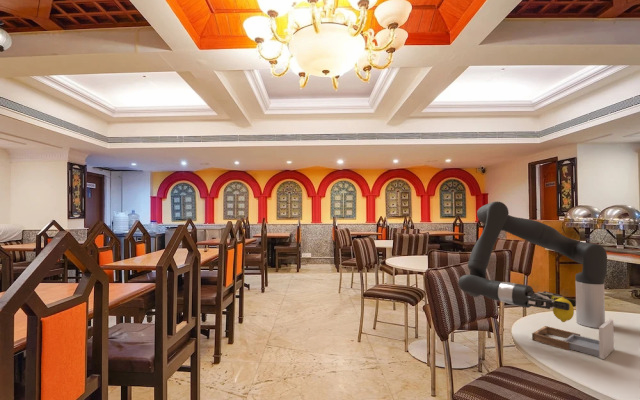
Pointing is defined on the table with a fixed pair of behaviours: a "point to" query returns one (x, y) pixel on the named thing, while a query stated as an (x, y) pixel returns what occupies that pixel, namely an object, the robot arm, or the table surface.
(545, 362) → the table surface
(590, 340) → the tray
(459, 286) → the robot arm
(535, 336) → the frame
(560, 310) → the lemon
